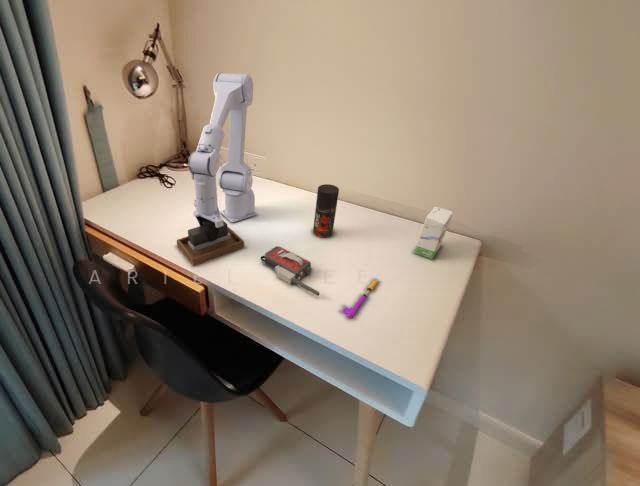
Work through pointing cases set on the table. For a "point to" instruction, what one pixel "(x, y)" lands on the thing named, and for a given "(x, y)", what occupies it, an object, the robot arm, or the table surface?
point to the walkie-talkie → (288, 266)
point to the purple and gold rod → (353, 310)
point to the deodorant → (325, 210)
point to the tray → (210, 249)
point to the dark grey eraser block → (206, 236)
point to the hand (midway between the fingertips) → (209, 237)
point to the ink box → (433, 232)
